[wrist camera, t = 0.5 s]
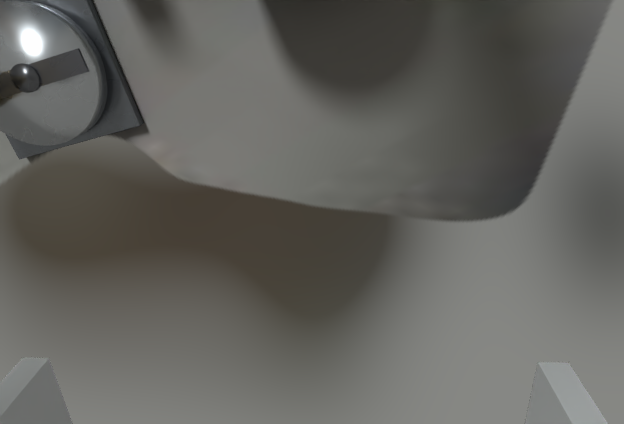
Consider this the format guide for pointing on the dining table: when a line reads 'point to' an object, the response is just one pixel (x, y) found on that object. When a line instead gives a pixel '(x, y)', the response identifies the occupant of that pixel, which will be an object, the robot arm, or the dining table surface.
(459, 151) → the dining table surface
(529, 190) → the dining table surface
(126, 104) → the wheel stand
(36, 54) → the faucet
